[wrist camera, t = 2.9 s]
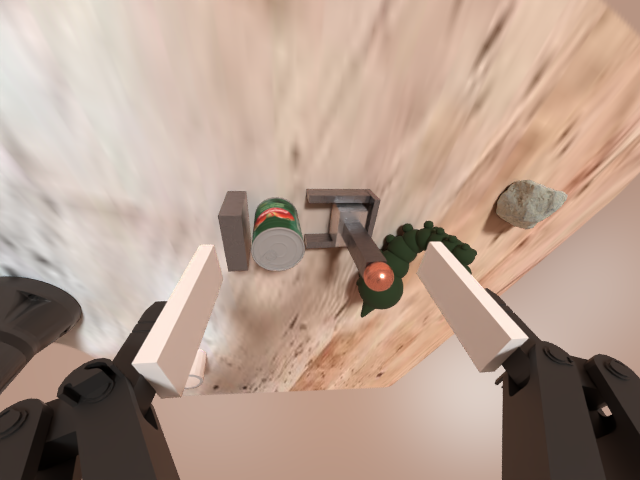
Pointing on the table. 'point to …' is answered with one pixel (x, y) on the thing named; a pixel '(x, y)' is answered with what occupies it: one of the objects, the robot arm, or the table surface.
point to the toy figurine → (402, 254)
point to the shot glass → (197, 370)
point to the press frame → (239, 235)
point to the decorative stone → (528, 203)
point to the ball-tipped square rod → (360, 244)
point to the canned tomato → (277, 235)
